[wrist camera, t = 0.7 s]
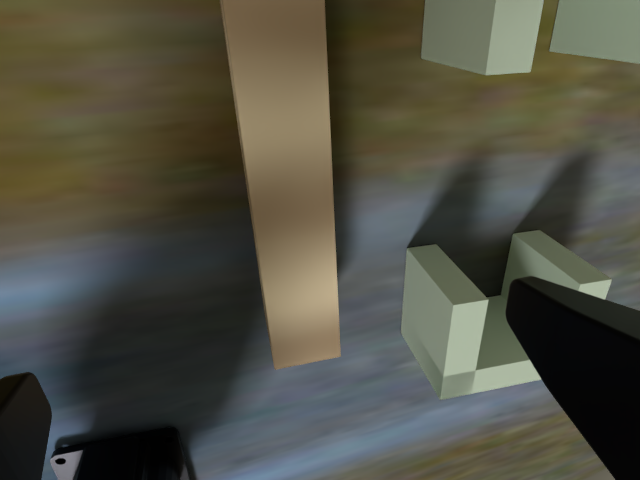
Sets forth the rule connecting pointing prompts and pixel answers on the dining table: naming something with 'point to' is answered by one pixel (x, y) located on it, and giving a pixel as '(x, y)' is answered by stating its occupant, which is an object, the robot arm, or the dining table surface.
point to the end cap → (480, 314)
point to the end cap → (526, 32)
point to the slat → (287, 168)
